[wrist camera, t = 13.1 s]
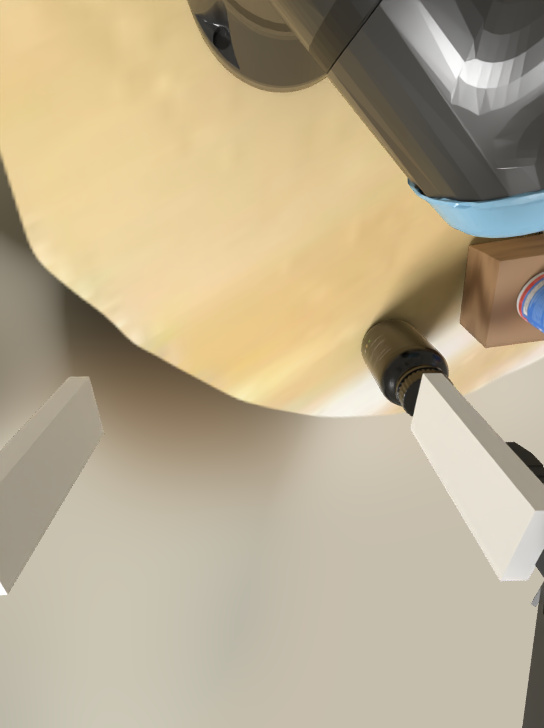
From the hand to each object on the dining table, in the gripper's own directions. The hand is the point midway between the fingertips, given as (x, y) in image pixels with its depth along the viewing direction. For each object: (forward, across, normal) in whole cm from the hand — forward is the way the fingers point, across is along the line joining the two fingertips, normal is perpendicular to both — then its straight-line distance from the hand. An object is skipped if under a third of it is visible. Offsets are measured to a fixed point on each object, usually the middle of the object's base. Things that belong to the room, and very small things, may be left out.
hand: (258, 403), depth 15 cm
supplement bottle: (+27, +15, -10) cm, 32 cm away
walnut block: (+26, +27, -2) cm, 38 cm away
